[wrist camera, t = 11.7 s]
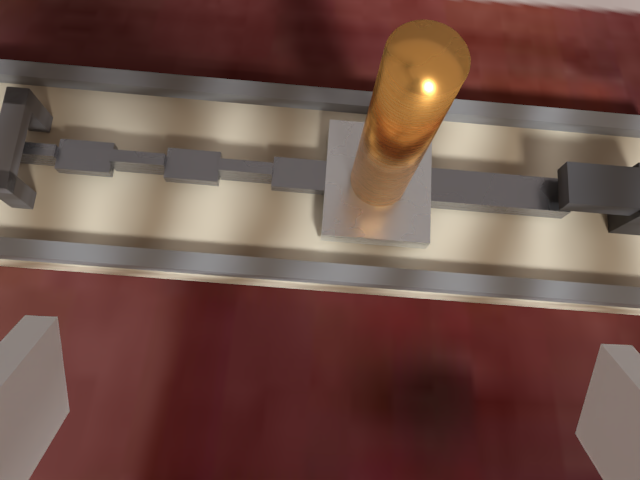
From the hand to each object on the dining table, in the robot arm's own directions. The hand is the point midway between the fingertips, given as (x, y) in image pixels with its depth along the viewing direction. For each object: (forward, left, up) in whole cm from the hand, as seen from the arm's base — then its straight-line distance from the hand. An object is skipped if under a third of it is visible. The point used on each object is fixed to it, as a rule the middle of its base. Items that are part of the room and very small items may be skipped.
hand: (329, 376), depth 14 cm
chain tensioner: (-10, +7, -17) cm, 21 cm away
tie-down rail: (-11, +6, -19) cm, 23 cm away
